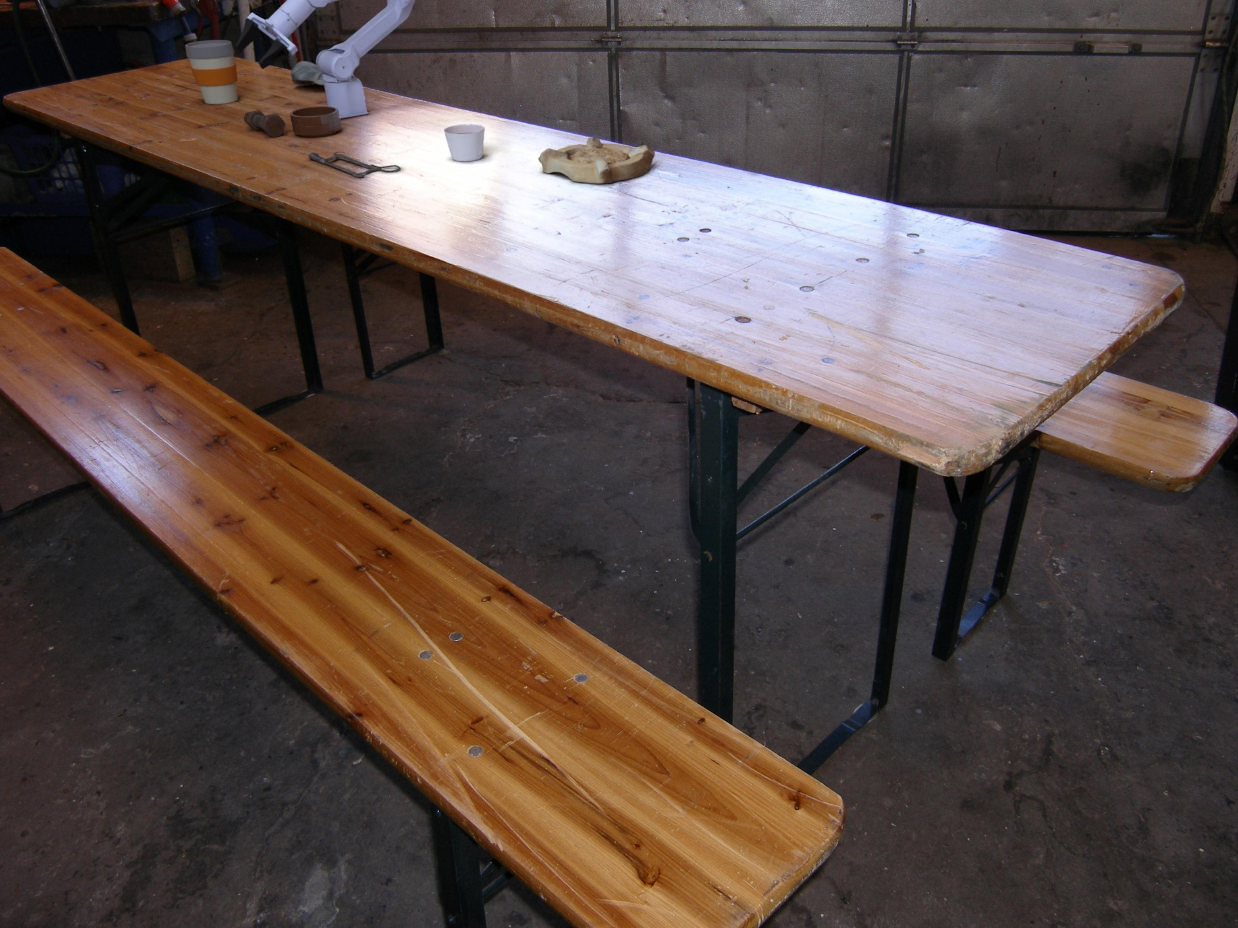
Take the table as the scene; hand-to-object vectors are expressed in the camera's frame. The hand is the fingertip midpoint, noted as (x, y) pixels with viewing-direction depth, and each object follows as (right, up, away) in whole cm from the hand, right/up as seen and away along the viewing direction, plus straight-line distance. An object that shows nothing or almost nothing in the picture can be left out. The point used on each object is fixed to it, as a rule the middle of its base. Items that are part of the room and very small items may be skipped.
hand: (249, 57), depth 235 cm
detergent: (+5, +11, +49) cm, 50 cm away
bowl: (+15, -16, +6) cm, 23 cm away
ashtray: (+86, -36, -27) cm, 97 cm away
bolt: (+1, -16, +8) cm, 17 cm away
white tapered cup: (+56, -30, -17) cm, 66 cm away
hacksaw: (+31, -33, -20) cm, 49 cm away
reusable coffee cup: (-23, +4, +39) cm, 46 cm away
